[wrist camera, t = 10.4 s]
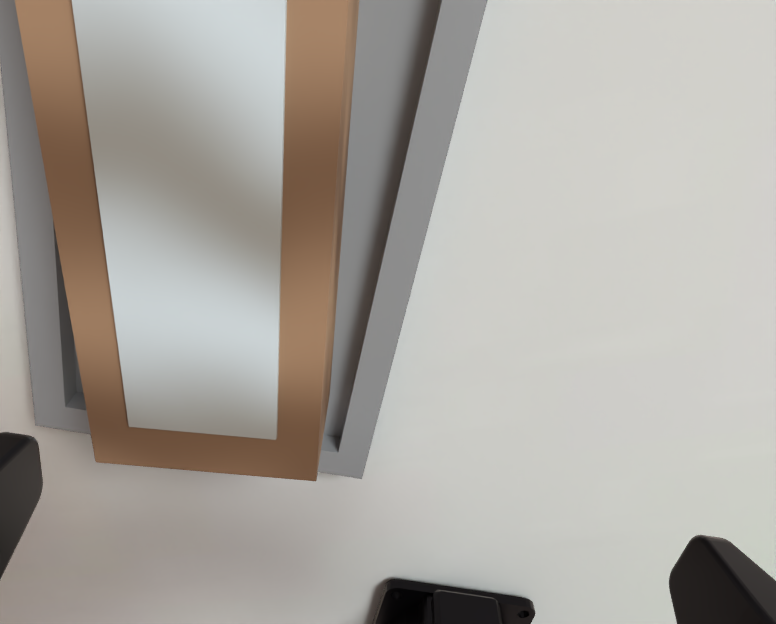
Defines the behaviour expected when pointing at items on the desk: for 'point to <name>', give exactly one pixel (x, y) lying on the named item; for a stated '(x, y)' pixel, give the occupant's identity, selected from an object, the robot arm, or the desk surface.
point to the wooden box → (198, 219)
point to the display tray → (360, 217)
